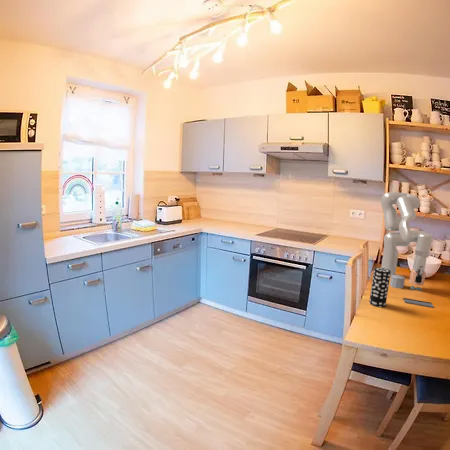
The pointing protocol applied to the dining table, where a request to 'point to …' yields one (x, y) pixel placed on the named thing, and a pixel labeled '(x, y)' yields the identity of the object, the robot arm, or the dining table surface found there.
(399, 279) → the grey cup
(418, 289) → the marble
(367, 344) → the dining table surface
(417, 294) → the dining table surface
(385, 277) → the spotted tube
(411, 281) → the peach rounded capsule
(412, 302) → the mat
